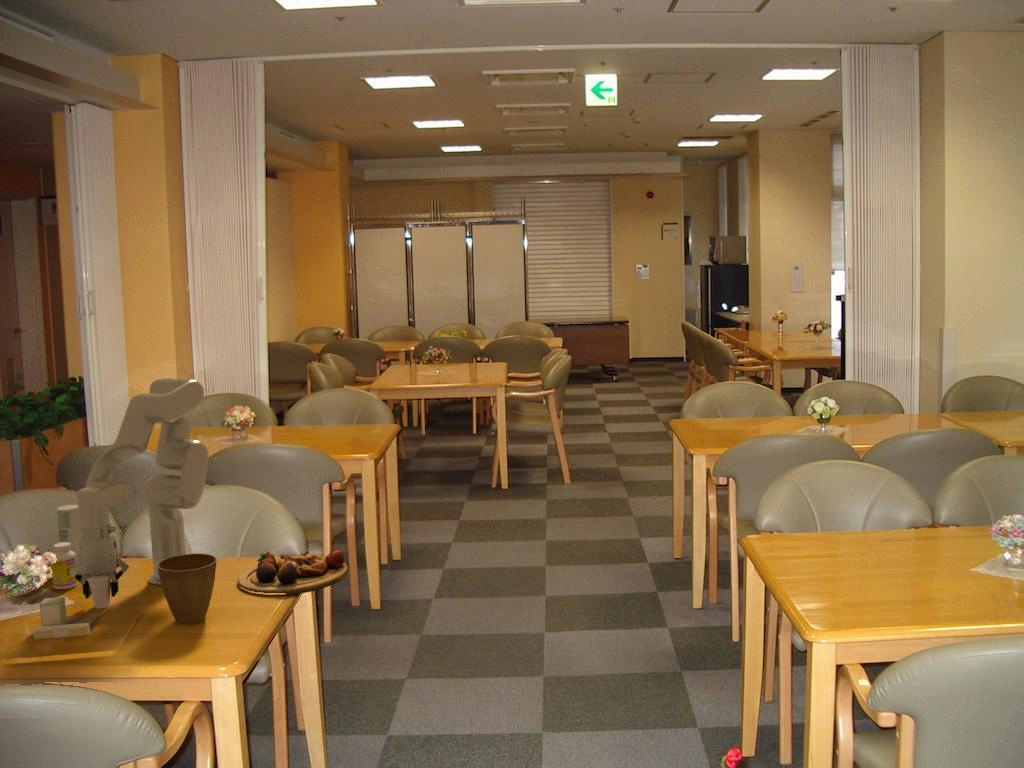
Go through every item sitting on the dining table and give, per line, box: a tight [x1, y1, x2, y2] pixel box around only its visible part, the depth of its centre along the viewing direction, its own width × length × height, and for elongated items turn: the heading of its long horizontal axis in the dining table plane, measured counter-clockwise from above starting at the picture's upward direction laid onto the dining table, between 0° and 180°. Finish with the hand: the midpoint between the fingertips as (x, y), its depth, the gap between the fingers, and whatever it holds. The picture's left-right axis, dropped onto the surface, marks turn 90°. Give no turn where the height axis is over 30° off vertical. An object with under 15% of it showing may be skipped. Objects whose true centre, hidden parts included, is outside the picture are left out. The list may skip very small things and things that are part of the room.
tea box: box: [39, 596, 67, 627], centre depth 262 cm, size 5×4×7 cm
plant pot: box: [157, 553, 218, 625], centre depth 266 cm, size 15×15×16 cm
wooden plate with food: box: [236, 549, 349, 596], centre depth 299 cm, size 32×32×8 cm
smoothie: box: [87, 573, 112, 609], centre depth 277 cm, size 6×6×14 cm
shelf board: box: [33, 612, 105, 641], centre depth 263 cm, size 13×16×1 cm
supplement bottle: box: [51, 542, 79, 590], centre depth 297 cm, size 7×7×13 cm
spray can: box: [56, 504, 81, 573], centre depth 312 cm, size 6×6×20 cm
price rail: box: [32, 623, 91, 640], centre depth 256 cm, size 13×2×4 cm, turn 98°
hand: (101, 595), depth 277 cm, fingers closed on smoothie, 6 cm apart
